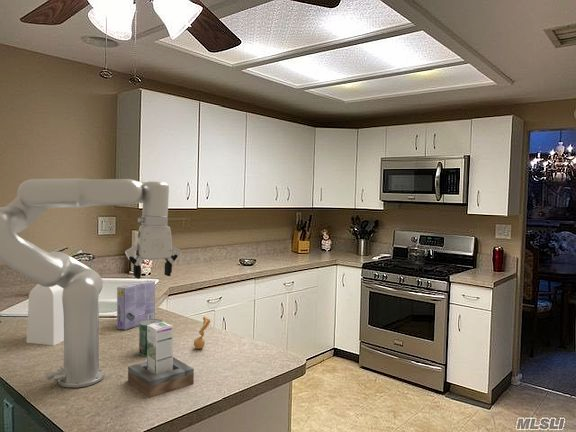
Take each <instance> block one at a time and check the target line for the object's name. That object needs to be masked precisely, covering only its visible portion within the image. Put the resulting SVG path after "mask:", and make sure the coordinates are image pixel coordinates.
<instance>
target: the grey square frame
mask: <svg viewBox="0 0 576 432" xmlns="http://www.w3.org/2000/svg"><path fill="white" fill-rule="evenodd" d="M194 370H195V369H194V368H193V367H191V366H190V365H188V364H186V363H185V362H182V361H181V360H179V359H177V357H176V358H175V357H174V356H173V370H172V371H168V372H165V373H161V374H157V375H153V374H152V373H150V372H149V371H148V370H147V361H144V362H140V363H136V364H132V365H128V366H127V382H129V384H131V385H132V386H134V387H135V388H136V389H138V390H139V391H140V392H141V393H142V394H144V395H145V396H147V397H148V398H152V397H155V396H158V395H161V394H166V393H169V392H172V391H174V390H177V389H180V388H183V387H187V386H191V385H194V379H195V377H194V373H195V371H194Z"/></svg>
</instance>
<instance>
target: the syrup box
mask: <svg viewBox="0 0 576 432" xmlns="http://www.w3.org/2000/svg"><path fill="white" fill-rule="evenodd" d="M173 330H174V327H173V325H171V324H169V323H166V322H164V321H163V322H158V323H153V324H150V325H147V357H146V362H147V370H148V371H149V372H150V373H152V374H153V375H157V374H161V373H165V372H168V371H172V370H173V357H174V354H173V353H174V352H173V351H174V350H173V349H174V347H173V345H174V343H173V341H174V336H173V335H174V334H173V333H174V332H173Z"/></svg>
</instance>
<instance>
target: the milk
mask: <svg viewBox="0 0 576 432" xmlns="http://www.w3.org/2000/svg"><path fill="white" fill-rule="evenodd" d="M63 289H64V288H62V287H60V286H58V285H55V286H52V287H44V286H41V285H39V284H38V283H36V285H35V286H34V287H32V289H31V290H30V291H29V292H28V304H27V305H28V307H27V308H28V309H27V328H26V329H27V330H26V343H27V344H34V345H35V344H37V345H48V346H55V345H57V344H60V343H62V342H64V313H63V303H62V293H63Z"/></svg>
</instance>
